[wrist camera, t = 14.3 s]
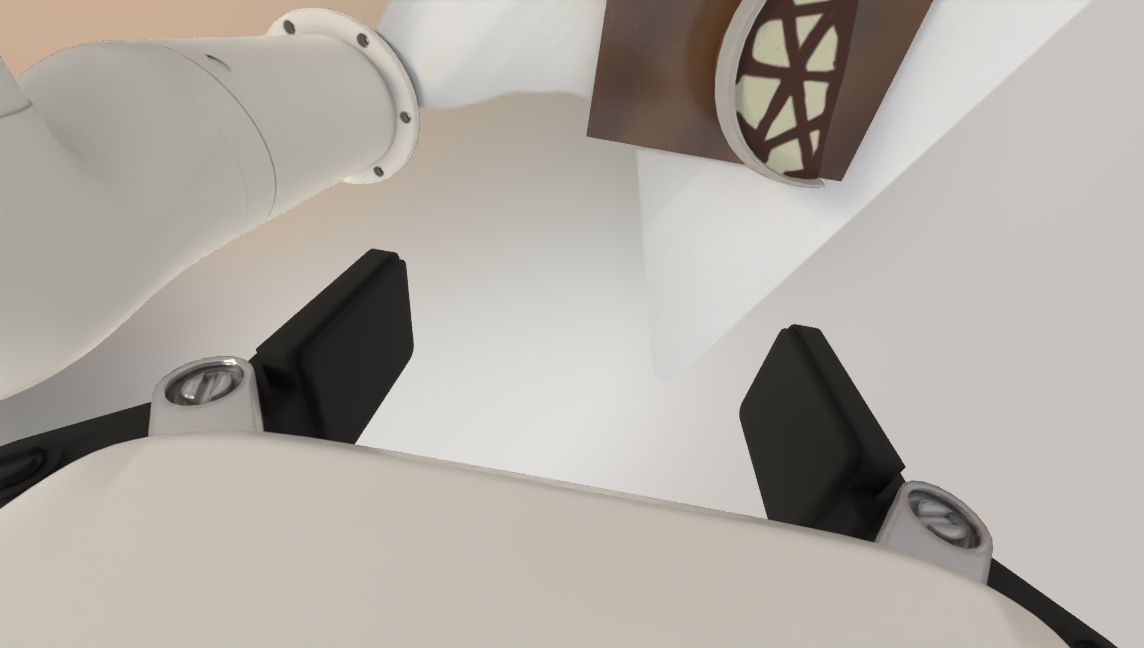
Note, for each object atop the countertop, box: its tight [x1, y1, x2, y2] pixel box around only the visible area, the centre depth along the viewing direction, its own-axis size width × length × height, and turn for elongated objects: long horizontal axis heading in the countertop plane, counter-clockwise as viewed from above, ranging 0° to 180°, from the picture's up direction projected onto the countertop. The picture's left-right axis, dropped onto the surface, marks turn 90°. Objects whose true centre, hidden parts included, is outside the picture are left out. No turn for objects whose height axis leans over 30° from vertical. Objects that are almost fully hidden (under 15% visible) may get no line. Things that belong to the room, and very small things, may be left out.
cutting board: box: [587, 0, 933, 181], centre depth 30 cm, size 20×13×2 cm, turn 82°
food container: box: [714, 0, 859, 188], centre depth 25 cm, size 12×6×10 cm, turn 5°
